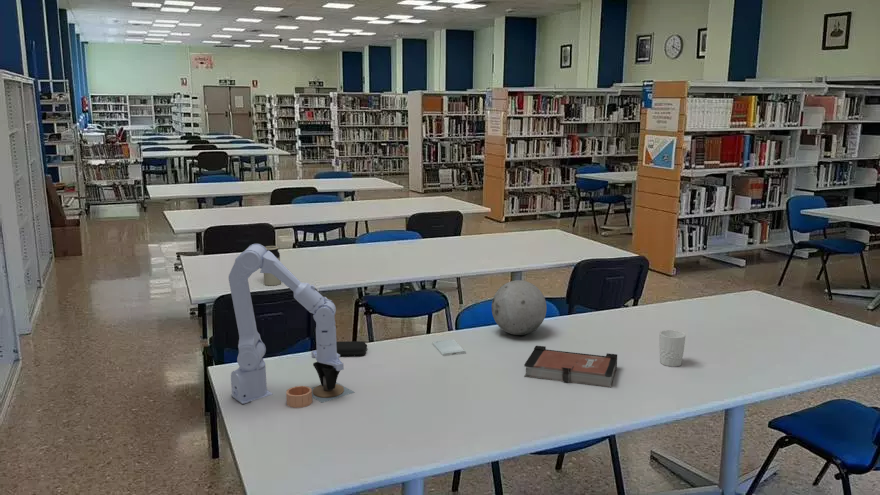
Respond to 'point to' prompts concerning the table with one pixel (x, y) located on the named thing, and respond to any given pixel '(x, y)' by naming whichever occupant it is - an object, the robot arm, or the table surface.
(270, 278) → the travel mug
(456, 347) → the hard drive
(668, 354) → the white cup
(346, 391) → the mat
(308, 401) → the bowl
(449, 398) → the table surface
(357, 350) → the carrying case or bag
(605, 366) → the book
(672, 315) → the table surface
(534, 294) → the moon model
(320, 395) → the lid
